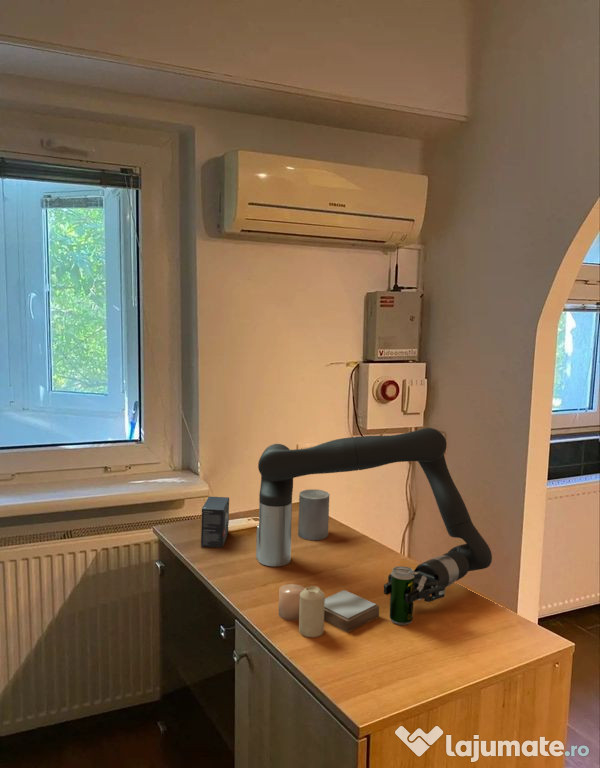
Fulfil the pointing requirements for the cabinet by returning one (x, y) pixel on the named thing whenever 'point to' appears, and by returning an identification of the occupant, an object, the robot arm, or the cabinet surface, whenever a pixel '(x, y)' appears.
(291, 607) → the peach rounded cylinder
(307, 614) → the candle
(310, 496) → the pillar candle
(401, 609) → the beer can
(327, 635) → the cabinet surface
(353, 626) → the podium
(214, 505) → the small box
